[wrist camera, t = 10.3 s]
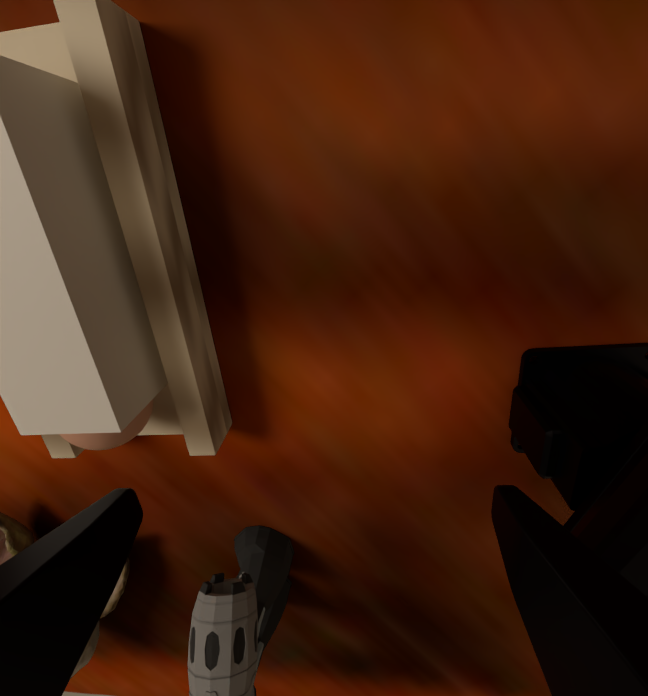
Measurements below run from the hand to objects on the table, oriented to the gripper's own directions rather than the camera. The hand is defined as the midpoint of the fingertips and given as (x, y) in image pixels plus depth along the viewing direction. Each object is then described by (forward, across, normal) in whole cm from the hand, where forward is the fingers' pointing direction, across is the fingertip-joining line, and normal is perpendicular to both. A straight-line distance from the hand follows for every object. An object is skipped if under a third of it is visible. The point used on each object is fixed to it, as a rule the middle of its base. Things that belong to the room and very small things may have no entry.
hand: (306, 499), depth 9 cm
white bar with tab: (+11, +12, -5) cm, 17 cm away
